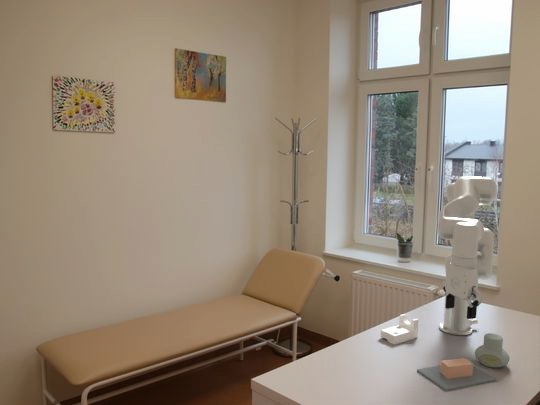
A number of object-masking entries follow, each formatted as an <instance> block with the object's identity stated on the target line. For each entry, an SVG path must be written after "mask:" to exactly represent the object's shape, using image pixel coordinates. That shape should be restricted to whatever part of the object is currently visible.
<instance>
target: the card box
mask: <svg viewBox="0 0 540 405" xmlns="http://www.w3.org/2000/svg"><path fill="white" fill-rule="evenodd" d="M439 365H440V373H441V374H443V375H444V376H445V377H446V378H448V379H450V378H458V377H467V376H472V374H473V366H474V364H473V362H471V361H469V360H468V359H466V358H464V357H462V358H454V359H445V360H444V359H443V360H440V364H439Z"/></svg>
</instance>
